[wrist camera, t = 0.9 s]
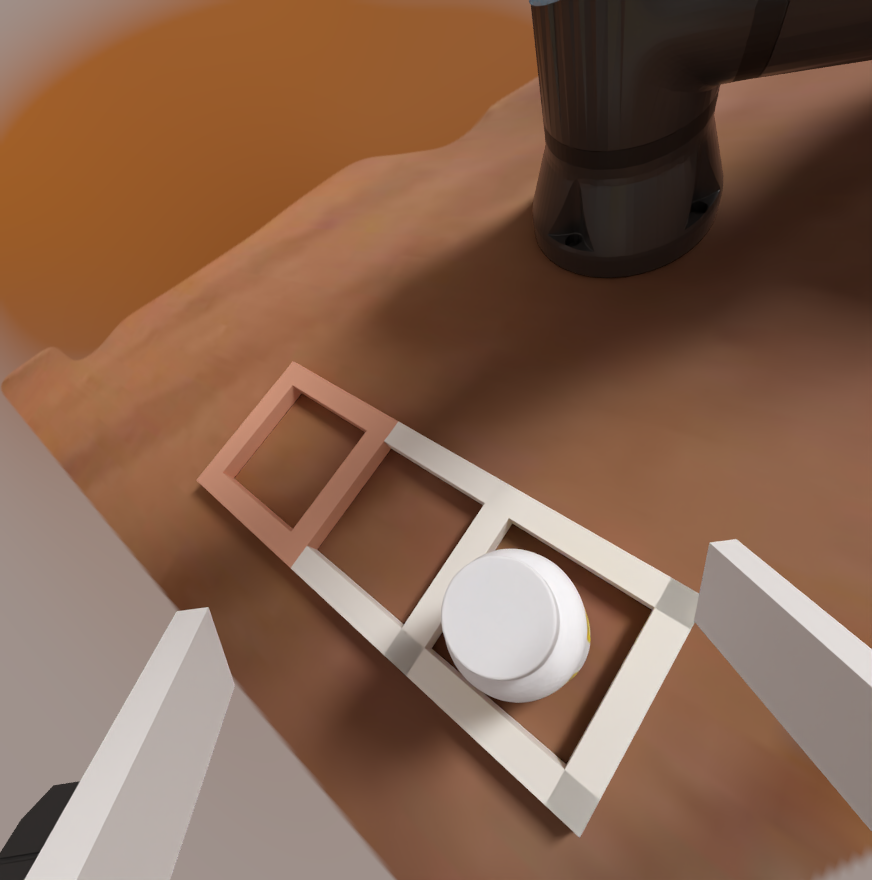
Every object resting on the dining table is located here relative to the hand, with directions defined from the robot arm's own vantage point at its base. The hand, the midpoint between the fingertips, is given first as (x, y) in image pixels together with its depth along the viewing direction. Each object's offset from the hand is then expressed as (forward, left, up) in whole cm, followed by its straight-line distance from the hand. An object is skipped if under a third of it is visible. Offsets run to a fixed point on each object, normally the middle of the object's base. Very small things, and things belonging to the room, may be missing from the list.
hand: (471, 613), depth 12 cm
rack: (+10, -8, -19) cm, 23 cm away
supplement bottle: (0, -1, -19) cm, 19 cm away
